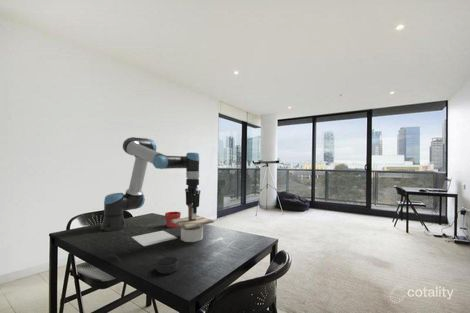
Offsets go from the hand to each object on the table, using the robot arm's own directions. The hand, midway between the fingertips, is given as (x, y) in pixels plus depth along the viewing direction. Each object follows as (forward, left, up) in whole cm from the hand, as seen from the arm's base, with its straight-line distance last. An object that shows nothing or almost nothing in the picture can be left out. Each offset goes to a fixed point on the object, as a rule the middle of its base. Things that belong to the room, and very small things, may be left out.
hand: (192, 218), depth 134 cm
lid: (0, 0, -2) cm, 2 cm away
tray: (-16, -16, -12) cm, 26 cm away
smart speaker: (+26, -28, -13) cm, 40 cm away
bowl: (0, 0, -12) cm, 12 cm away
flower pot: (-32, +4, -13) cm, 35 cm away
